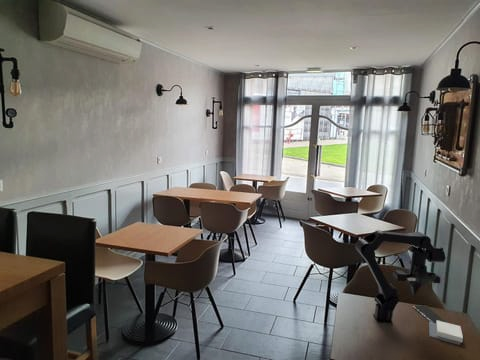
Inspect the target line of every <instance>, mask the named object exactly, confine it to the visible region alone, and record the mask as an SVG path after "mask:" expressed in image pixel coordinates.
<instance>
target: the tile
mask: <svg viewBox="0 0 480 360" xmlns="http://www.w3.org/2000/svg"><path fill="white" fill-rule="evenodd" d="M446 322H447V321H446ZM446 322H442V321H438V320H436V331H437V336H440V337H443V338H447V339H451V340H454V341H458V342H460V343H463V339H464V338H463V332H462V328H461V327H462V326H461V325H457V324H453V323H449V322H447V323H446Z"/></svg>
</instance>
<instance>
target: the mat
mask: <svg viewBox="0 0 480 360" xmlns="http://www.w3.org/2000/svg"><path fill="white" fill-rule="evenodd" d="M428 331H429V332H428V335H429V338H431V339H432V338H433V339H437V340H439V341H444V342H447V343H451V344H454V345H457V346H458V345H459V346H461V342H458V341H454V340H451V339H447V338H443V337H440V336H437V331H436V323H432V322H430V321H428Z"/></svg>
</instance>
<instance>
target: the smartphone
mask: <svg viewBox="0 0 480 360" xmlns="http://www.w3.org/2000/svg"><path fill="white" fill-rule="evenodd" d="M412 307H413V309H415V311H416V312H418V313H419V314H420V315H422V317H423V318H425V319H426V320H427V321H428V322H432V323H436V320H438V321H442V322H446V323H448V322H447V321H446V319H443V318H442V317H441V316H440V315H438V314H437V313H436V312H435V311H433V310H432V309H431V308H430V307H429V306H428V305H423V304H422V305H421V304H420V305H418V304H417V305H412Z"/></svg>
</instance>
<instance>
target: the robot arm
mask: <svg viewBox="0 0 480 360" xmlns="http://www.w3.org/2000/svg"><path fill="white" fill-rule="evenodd" d="M384 242H389V243H396V244H405V245H406V244H407V245H411V246H409V247H408V248H407V250H408V251H409V252H411V259H410V261H409V264H410V268H409V269H408V273H407V272H405V271H404V270H397V269H394V270H393V272H392V276H393V278H395V280H396V281H398V282H406V281H407V282H408V283H409V286H410V290H411V293H412V296H416V295H417V293H418V292H419V290H420V289H421V287H422V286H423V285H430V283H431V282H432V283H434V284H441V283H442V282H441V281H442V279H441V276H439V275H438V274H437V273H435V272H431V271H428V267H427V265H426V262H429V263H441V264H443V263H445V262H446V260H447V259H446V258H447V257H446V253H445V251H444V250H445V249H444V247H442V246H433V244H432V239H431V238H430V236H427V235H426V234H424V233H422V232H420V231H417V232H416V231H414V232H413V231H412V232H409V233H404V232H403V233H402V232H393V231H384V230H380V229H378V230H375V231H374V232H372V233H370V234H368V235H365V236H364V237H362V238H361V239H358V240H357V241H356V243H354V244H355V246H354V247H355V250H356V251H357V252H358V253H359V255H361V257H362V258H363V259H364V260H365V262H366V264H367V266H368V268H369V270H370V272H371V274H372V276H373V278H374V280H375V281H376V283H377V287H378V293H377V294H376V295H375V296H374V297H373V299H374V301H375V302H376V303H375V309H374V313H372V315H373V317H374V318H375V319H376V321H377V322H378V323H386V324H387V323H389V324H390V323H391V324H392V323H393V314H394V310H395V308H396V307H397V305H398V303H399V301H400V298H399V297H400V294H398V291H397V288H396V287H394V286H393V284H392V283H390V282H389V283H388V281H387V279H386V276H385V275H384V273H383V271H382V269H381V267H380V265H379V263H378V260H377V258H376V252H375V251H377V250H378V249H379V247H380V246H381V245H382V243H384Z"/></svg>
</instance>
